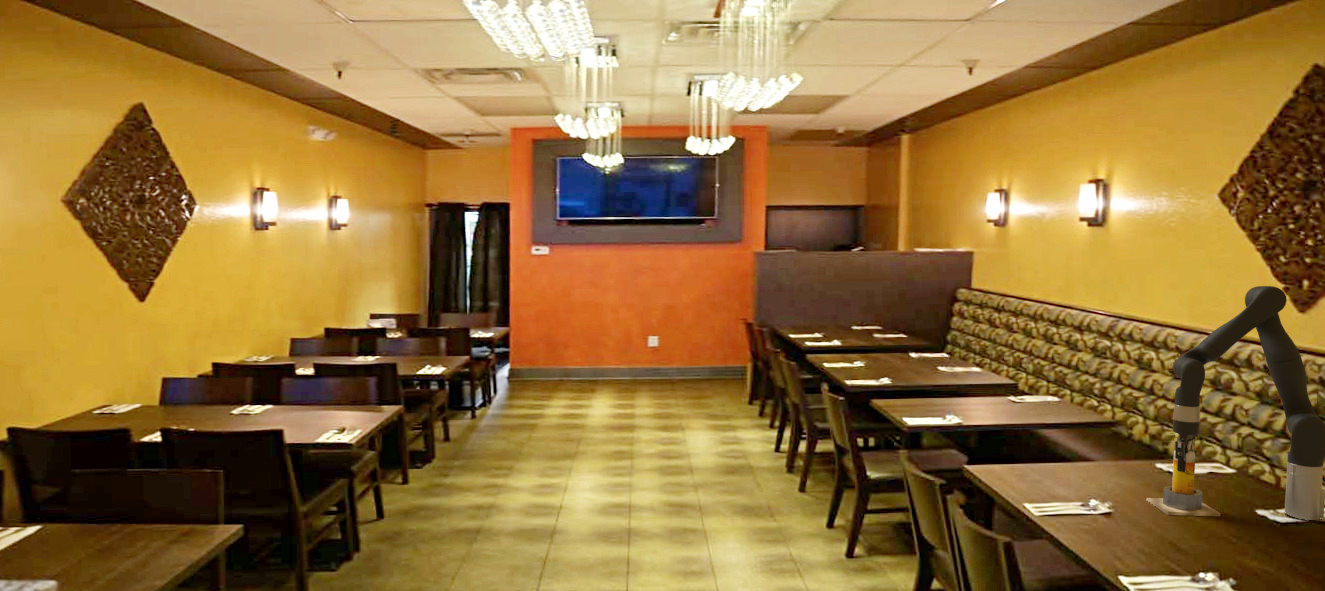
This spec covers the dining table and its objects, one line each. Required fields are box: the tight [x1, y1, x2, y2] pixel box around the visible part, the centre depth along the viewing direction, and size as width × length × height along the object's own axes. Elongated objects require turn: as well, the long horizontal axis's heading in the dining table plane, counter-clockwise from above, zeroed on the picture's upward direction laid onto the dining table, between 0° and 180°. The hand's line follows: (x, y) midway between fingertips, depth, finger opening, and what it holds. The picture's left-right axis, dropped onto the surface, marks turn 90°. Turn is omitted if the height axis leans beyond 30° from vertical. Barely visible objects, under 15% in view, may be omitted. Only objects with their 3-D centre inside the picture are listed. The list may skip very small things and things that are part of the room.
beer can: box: [1171, 449, 1196, 494], centre depth 289 cm, size 6×6×15 cm
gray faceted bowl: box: [1162, 485, 1204, 511], centre depth 290 cm, size 11×11×5 cm
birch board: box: [1146, 497, 1221, 517], centre depth 290 cm, size 16×15×1 cm
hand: (1184, 469), depth 289 cm, fingers closed on beer can, 5 cm apart
